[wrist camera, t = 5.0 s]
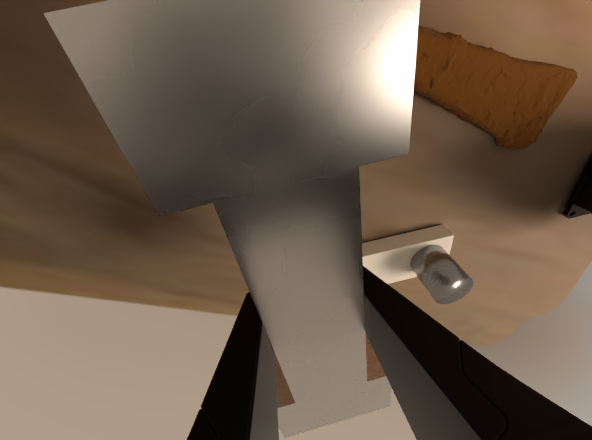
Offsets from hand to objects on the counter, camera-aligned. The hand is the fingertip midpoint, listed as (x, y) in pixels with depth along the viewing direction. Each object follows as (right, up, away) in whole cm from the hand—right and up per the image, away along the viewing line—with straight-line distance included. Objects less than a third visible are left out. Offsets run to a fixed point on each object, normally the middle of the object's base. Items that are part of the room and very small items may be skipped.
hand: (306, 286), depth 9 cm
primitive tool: (+9, +11, +8) cm, 17 cm away
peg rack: (+7, -1, +16) cm, 17 cm away
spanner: (0, +1, +1) cm, 1 cm away
